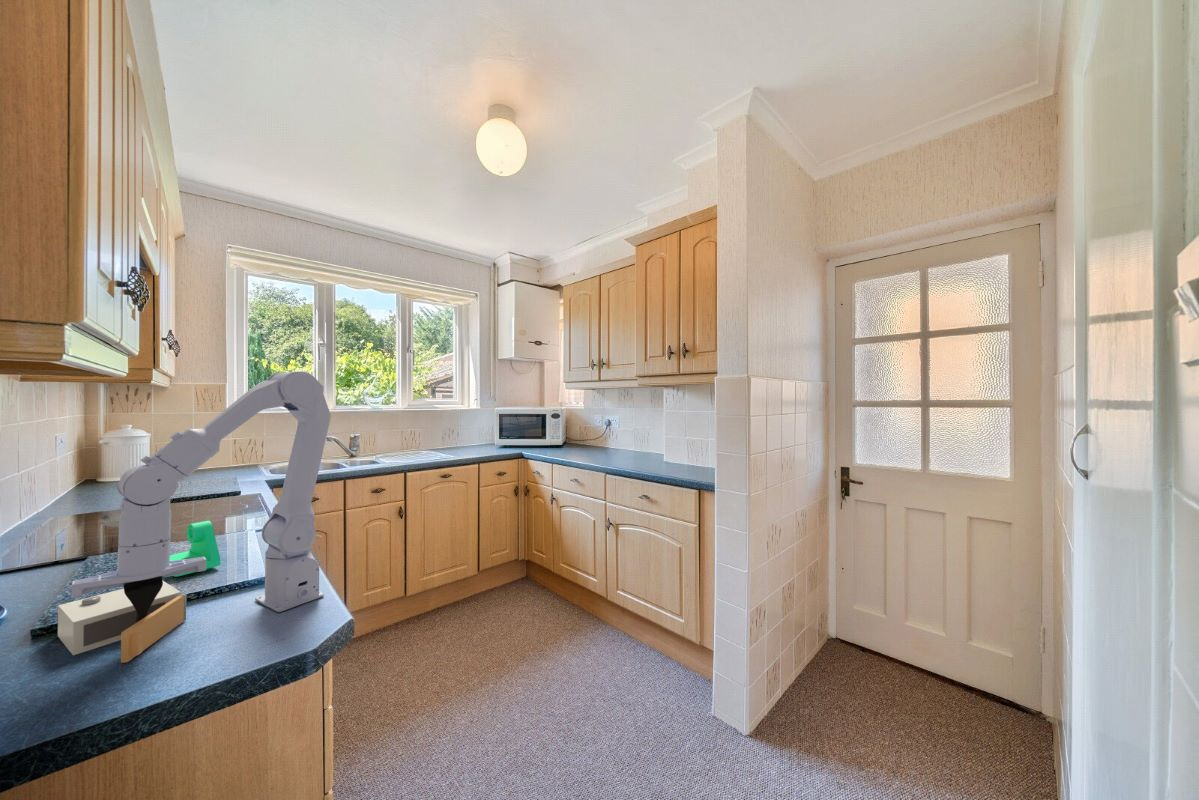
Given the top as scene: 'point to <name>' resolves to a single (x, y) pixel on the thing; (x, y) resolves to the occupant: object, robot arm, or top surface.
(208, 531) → the camera mount
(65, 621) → the housing
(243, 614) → the top surface
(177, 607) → the door
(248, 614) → the top surface
